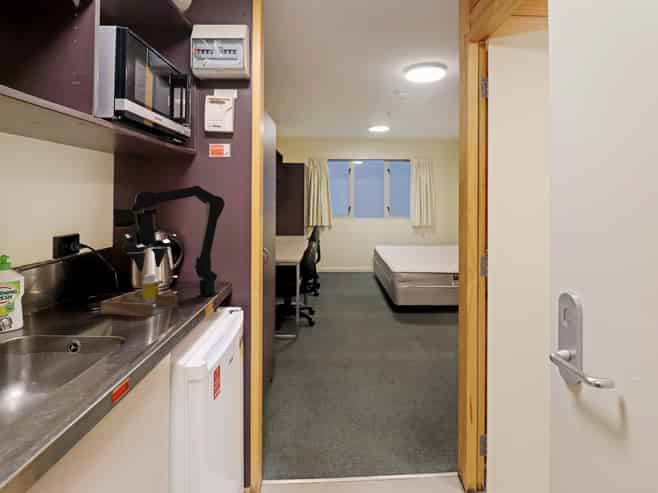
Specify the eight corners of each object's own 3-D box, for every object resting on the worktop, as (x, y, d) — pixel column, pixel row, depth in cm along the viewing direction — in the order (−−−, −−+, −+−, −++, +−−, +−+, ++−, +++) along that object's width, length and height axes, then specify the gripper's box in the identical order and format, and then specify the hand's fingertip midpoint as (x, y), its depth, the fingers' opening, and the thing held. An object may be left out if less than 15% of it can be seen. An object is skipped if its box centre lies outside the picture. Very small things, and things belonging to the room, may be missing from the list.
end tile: (158, 306, 136) (158, 305, 136) (175, 306, 134) (175, 306, 134) (136, 314, 126) (136, 313, 126) (154, 315, 124) (154, 315, 124)
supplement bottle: (158, 303, 140) (156, 275, 139) (141, 304, 139) (139, 276, 138) (161, 299, 146) (159, 273, 145) (146, 300, 145) (143, 274, 143)
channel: (143, 299, 147) (142, 289, 147) (188, 301, 142) (187, 290, 141) (101, 313, 128) (100, 301, 128) (151, 316, 123) (150, 304, 123)
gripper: (145, 225, 150) (148, 264, 152) (107, 228, 132) (111, 273, 134) (170, 225, 147) (172, 265, 149) (135, 228, 129) (138, 274, 131)
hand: (149, 269), depth 141 cm, fingers open, 9 cm apart
